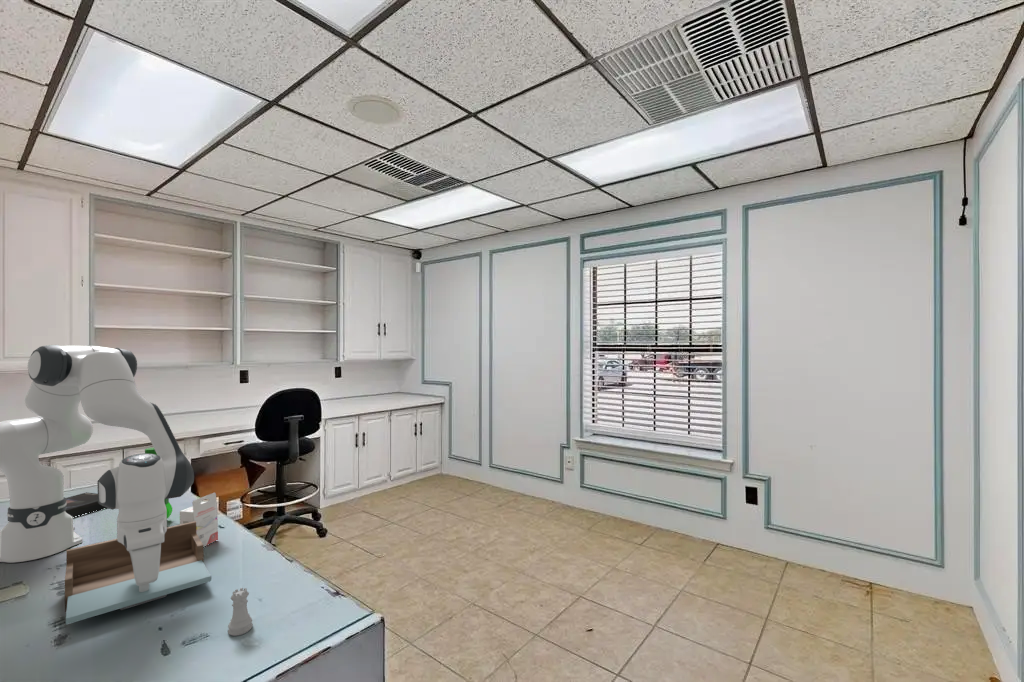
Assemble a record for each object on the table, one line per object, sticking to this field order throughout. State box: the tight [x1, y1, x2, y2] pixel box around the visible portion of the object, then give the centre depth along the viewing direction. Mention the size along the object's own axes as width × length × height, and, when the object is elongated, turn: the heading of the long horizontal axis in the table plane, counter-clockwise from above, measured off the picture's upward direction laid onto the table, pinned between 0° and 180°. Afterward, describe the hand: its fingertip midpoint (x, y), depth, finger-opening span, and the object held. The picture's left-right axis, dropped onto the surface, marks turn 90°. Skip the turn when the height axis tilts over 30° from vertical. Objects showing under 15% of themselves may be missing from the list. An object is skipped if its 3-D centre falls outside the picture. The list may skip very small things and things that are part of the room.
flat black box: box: [65, 492, 107, 517], centre depth 170 cm, size 16×17×4 cm
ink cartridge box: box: [179, 492, 219, 548], centre depth 138 cm, size 9×5×15 cm, turn 168°
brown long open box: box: [64, 521, 205, 613], centre depth 117 cm, size 12×26×10 cm, turn 132°
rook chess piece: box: [227, 587, 254, 637], centre depth 96 cm, size 4×4×8 cm
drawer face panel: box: [65, 560, 212, 625], centre depth 108 cm, size 2×25×12 cm
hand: (143, 589), depth 106 cm, fingers closed, pressing on drawer face panel
